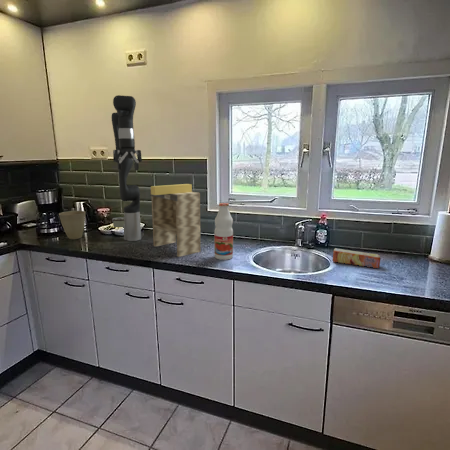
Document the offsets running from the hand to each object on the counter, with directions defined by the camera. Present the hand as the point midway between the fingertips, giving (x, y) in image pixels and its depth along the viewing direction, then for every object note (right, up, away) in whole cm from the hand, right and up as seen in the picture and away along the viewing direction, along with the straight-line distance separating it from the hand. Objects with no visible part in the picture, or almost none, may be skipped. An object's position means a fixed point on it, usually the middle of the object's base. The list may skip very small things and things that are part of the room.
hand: (128, 170), depth 162 cm
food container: (-18, -33, +50) cm, 62 cm away
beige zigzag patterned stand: (+22, -41, +14) cm, 49 cm away
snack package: (+113, -47, -8) cm, 123 cm away
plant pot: (-44, -36, +35) cm, 67 cm away
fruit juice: (+49, -45, 0) cm, 66 cm away
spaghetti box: (+22, -11, 0) cm, 25 cm away
